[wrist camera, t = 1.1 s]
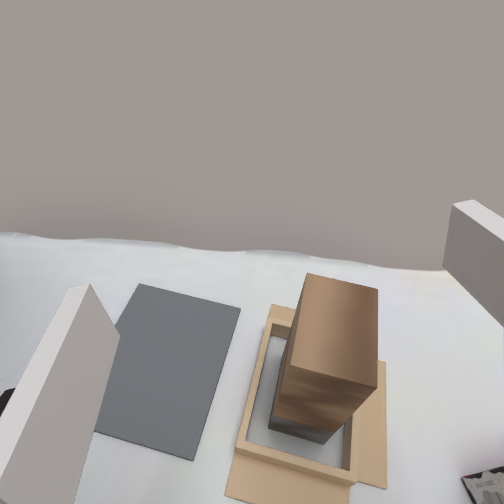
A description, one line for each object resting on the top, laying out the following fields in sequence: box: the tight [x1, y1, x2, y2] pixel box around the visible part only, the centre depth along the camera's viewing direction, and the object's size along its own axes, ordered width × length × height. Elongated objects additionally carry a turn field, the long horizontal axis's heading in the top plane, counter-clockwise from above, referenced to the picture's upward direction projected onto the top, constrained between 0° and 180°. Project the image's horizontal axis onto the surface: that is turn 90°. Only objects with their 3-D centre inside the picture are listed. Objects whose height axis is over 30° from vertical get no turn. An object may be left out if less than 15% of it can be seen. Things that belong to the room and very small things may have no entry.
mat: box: [94, 283, 241, 461], centre depth 34 cm, size 12×15×1 cm
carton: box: [225, 304, 387, 504], centre depth 31 cm, size 13×18×2 cm
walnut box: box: [268, 273, 378, 445], centre depth 27 cm, size 5×7×14 cm
